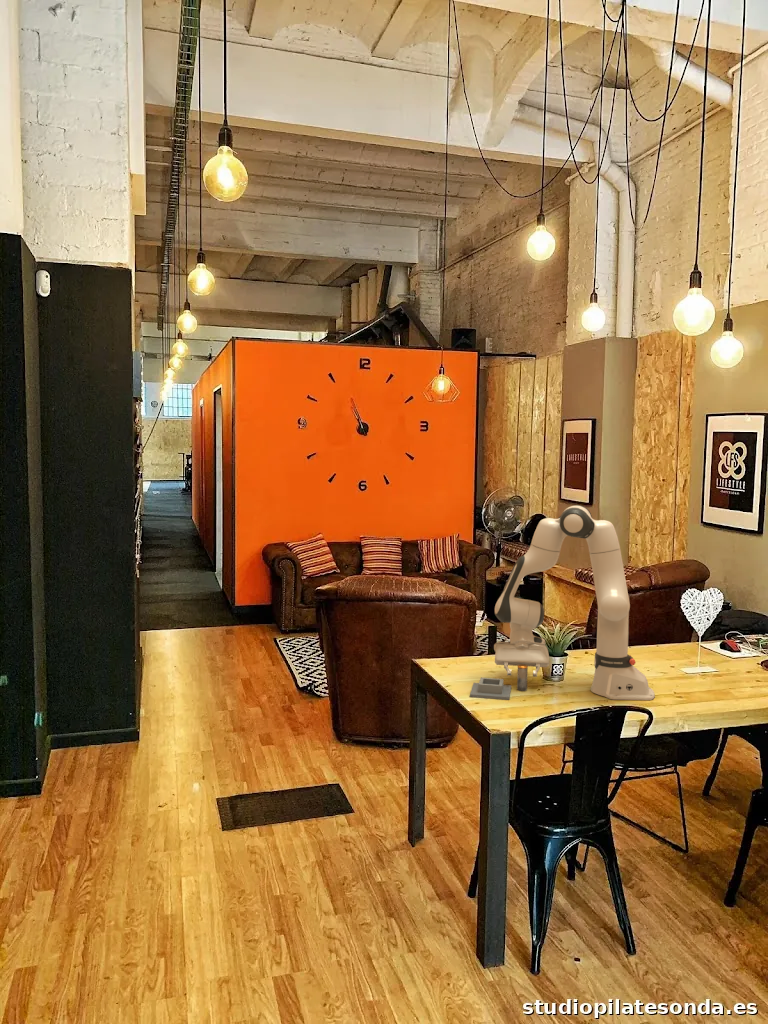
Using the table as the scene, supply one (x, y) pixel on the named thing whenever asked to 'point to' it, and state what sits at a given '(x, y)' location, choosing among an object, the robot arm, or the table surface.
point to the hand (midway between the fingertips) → (522, 675)
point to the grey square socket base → (491, 689)
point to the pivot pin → (522, 677)
